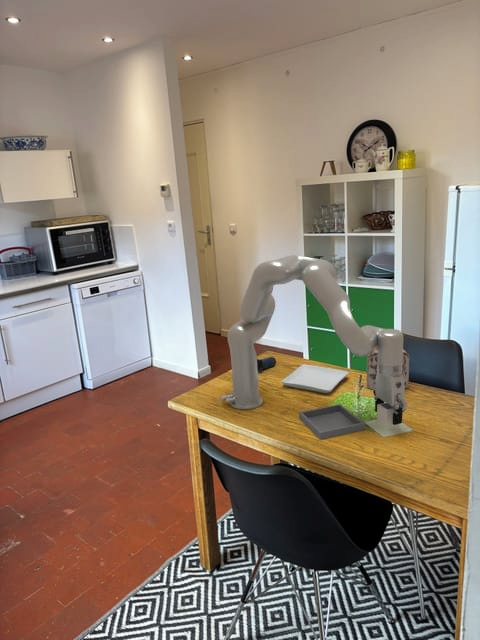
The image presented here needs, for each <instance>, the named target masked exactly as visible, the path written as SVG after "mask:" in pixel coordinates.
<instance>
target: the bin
mask: <svg viewBox="0 0 480 640" xmlns="http://www.w3.org/2000/svg"><path fill="white" fill-rule="evenodd" d="M298 419H299V420H300V421H301V422H302V423H303V424H304V426H306V427H307V428H308V429H309V431H311V432H312V433H313V434H314V435H315V436H316V437H317V438H318V439H319V440H320V441H323V440H327V439H331V438H335V437H341V436H344V435H349V434H354V433H359V432H362V431H365V430H366V424H365V423H364V422H365V421H363V420H362V419H360V417H358V416H357V415H355V414H354V413H353V412H351V411H350V410H349V409H348V408H346V406H344V405H343V404H342V403H338V404H333V405H328V406H323V407H317V408H314V409H313V408H312V409H307V410H301V411H299V412H298Z"/></svg>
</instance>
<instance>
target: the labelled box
mask: <svg viewBox="0 0 480 640" xmlns="http://www.w3.org/2000/svg"><path fill="white" fill-rule="evenodd" d="M396 408H397V409H398V408H399V406H398V405H397V406H396ZM393 413H394V410H393V408H392V406H391V405H389V404H387V403H386V402H384V403H383V404H378V405H377V412H376V419H377V425H379V426H380V427H381V428H383V429H384V430H385V431H387V430H391V429H396V428H399V424H397V425H393Z"/></svg>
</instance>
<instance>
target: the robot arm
mask: <svg viewBox="0 0 480 640" xmlns="http://www.w3.org/2000/svg"><path fill="white" fill-rule="evenodd" d="M335 276H336V269H335V266H334V265H333V264H332V263H331V261H328V260H325V259H321V258H316V257H310V256H308V257H307V256H302V255H296V254H295V255H293V254H292V255H287V256H283V257H280V258H278V259H274V260H268V261H263V262H261V263H260V264H258V265H257V266H256V267H255V268H254V270H253V272H252V276H251V278H250V280H249V283H248V286H247V288H246V290H245V294H244V296H243V298H242V301H241V303H240V308H239V315H240V317H241V320H239V321H238V322H235V323H234V324H233V325H232V326H230V328H229V330H228V332H227V335H226V336H227V343H228V348H229V353H230V360H231V361H230V363H231V364H230V365H231V375H232V376H231V377H232V390H231V391H230V393H228V394H226V395H221V396H220V399H221V402H224V401H225V402H226V403H229V405H230V406H231V407H233V408H235V409H237V410H252V409H256V408H258V407H261V406H262V405H263V403H264V398H263V396H261V395H260V394H259V392H260V391H259V375H258V374H259V373H258V370H257V359H258V356H257V352H256V349H255V346H254V344H255V343H256V342H258V341H259V340H260V339H262V338H263V337H264V336H265V334H266V333H267V330H268V327H269V325H270V323H271V320H272V318H273V315H274V312H275V309H276V300H275V298H274V296H273V295H272V294H273V290H274V286H275V285H285V284H287V283H290V282H292V281H294V280H297V281H302V282H303V284H304V285H305V287H306V288H307V289H308V290H309V293H311V294H312V295H313V297H314V298H315V299H316V300H317V302H318V303H319V304H320V306H321V307H322V308H323V309H324V310H325V312H326V313H327V315H328V318H329V320H330V324H331V325H332V328H333V330H334V332H335V333H336V335H337V337H338V338H339V339H340V341H341V342H342V343H343V345H344V346H345V347H346V348H347V349H348V351H350V353H352V354H353V355H355V356H357V357H365V356H366V357H367V356H368V355H369V354H370V353H371V352H372V351H373V349H375V348H377V349H378V364H377V375H376V384H373V385H372V387H373V390H372V393H373V399H374V412H375V413H377V405H378V404H383V403H387V404H389V405H391V406H392V408H393V410H394V413H393V425H397V424H401V423H403V413H405V411H406V410H407V408H408V407H407V406H408V403H407V402H406V395H405V394H406V390H405V389H406V388H405V386H404V378H403V375H402V360H403V349H404V333H403V332H402V331H401V330H399V329H395V328H382V327H379V326H378V327H377V326H374V325H368V324H367V325H363V326H361V327H360V326H359V324H358V323H357V322H356V320H355V318H354V317H353V314H352V311H351V302H350V301H351V300H350V296H349V295H348V294H347V292H346V291H345V290H344V289H343V288H342V286H341V285H340V284H339V283H338V281H336V279H335ZM396 406H398V407H399V408H398V409H397V408H396Z"/></svg>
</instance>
